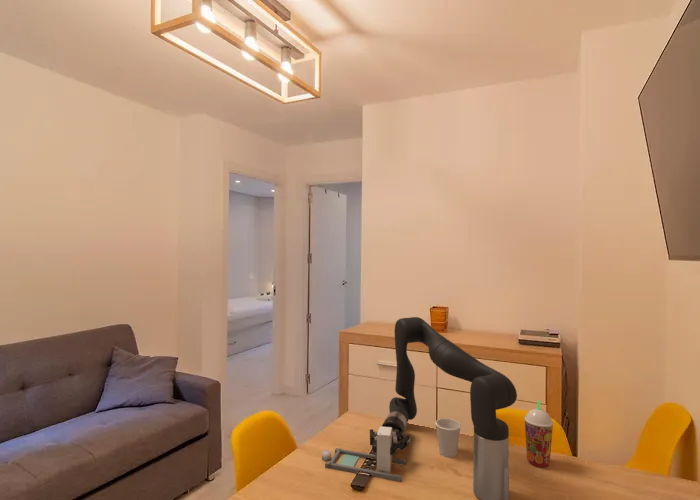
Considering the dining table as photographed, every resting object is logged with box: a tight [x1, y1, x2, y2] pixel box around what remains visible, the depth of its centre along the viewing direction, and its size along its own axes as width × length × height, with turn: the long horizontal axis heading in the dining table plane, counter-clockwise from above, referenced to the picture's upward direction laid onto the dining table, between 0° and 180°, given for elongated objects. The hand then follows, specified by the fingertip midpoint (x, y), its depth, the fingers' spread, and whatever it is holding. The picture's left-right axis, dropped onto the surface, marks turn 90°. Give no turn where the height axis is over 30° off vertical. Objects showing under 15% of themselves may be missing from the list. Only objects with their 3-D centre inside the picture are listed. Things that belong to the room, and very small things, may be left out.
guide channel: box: [321, 447, 408, 483], centre depth 127 cm, size 27×10×2 cm, turn 72°
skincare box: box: [376, 425, 393, 474], centre depth 124 cm, size 6×4×12 cm
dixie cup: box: [435, 417, 462, 459], centre depth 134 cm, size 8×8×10 cm
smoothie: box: [524, 400, 554, 468], centre depth 128 cm, size 8×8×20 cm
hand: (383, 450), depth 122 cm, fingers closed on skincare box, 4 cm apart
